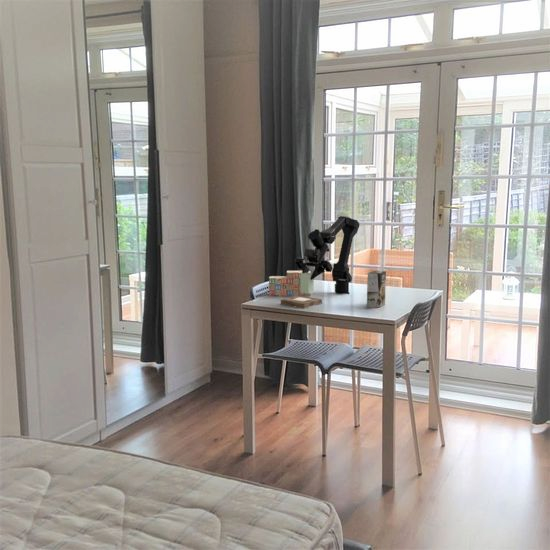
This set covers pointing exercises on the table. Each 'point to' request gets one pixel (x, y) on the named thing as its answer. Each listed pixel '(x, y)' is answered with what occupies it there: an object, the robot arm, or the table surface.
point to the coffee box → (376, 288)
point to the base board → (301, 301)
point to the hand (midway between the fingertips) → (306, 278)
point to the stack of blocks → (286, 284)
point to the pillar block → (307, 283)
